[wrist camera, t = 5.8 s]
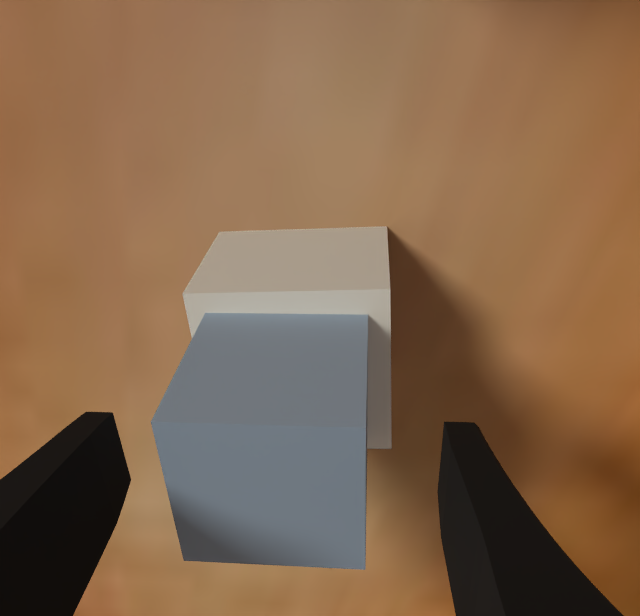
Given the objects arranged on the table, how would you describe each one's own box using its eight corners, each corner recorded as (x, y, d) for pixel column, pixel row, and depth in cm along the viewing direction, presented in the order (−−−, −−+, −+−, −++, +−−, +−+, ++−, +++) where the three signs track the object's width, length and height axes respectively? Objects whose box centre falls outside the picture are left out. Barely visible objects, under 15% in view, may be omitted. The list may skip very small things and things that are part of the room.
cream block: (386, 224, 17) (390, 289, 13) (388, 364, 19) (391, 448, 16) (220, 230, 17) (182, 293, 14) (242, 365, 20) (215, 447, 16)
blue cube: (367, 314, 14) (365, 427, 10) (366, 439, 16) (365, 569, 12) (205, 312, 14) (150, 421, 11) (224, 435, 16) (183, 560, 13)
